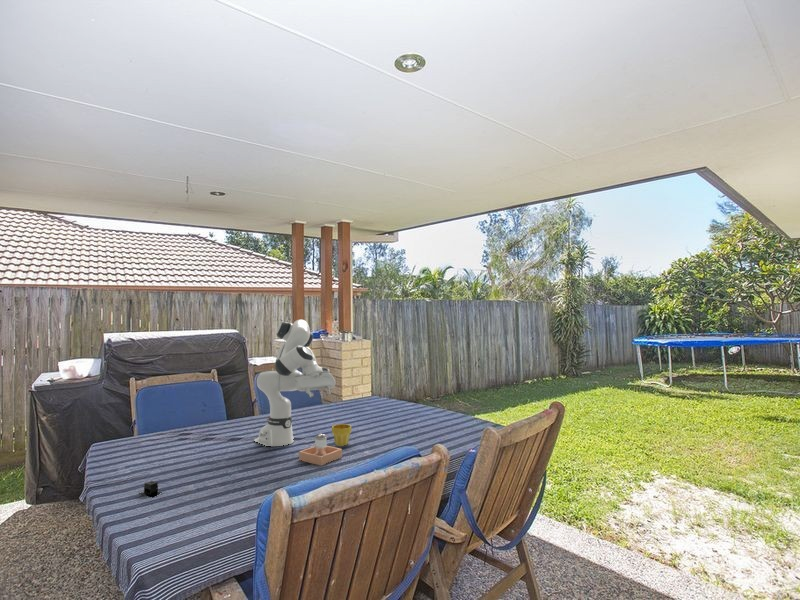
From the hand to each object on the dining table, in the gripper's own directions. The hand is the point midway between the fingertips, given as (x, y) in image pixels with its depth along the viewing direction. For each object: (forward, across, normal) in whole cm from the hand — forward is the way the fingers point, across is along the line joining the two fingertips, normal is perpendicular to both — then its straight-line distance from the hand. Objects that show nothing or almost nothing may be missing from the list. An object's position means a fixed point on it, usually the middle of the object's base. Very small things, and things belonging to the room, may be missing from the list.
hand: (320, 395), depth 221 cm
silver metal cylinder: (+24, -2, +16) cm, 29 cm away
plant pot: (+14, +17, +27) cm, 35 cm away
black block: (+24, -75, +18) cm, 81 cm away
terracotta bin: (+25, -2, +17) cm, 30 cm away
